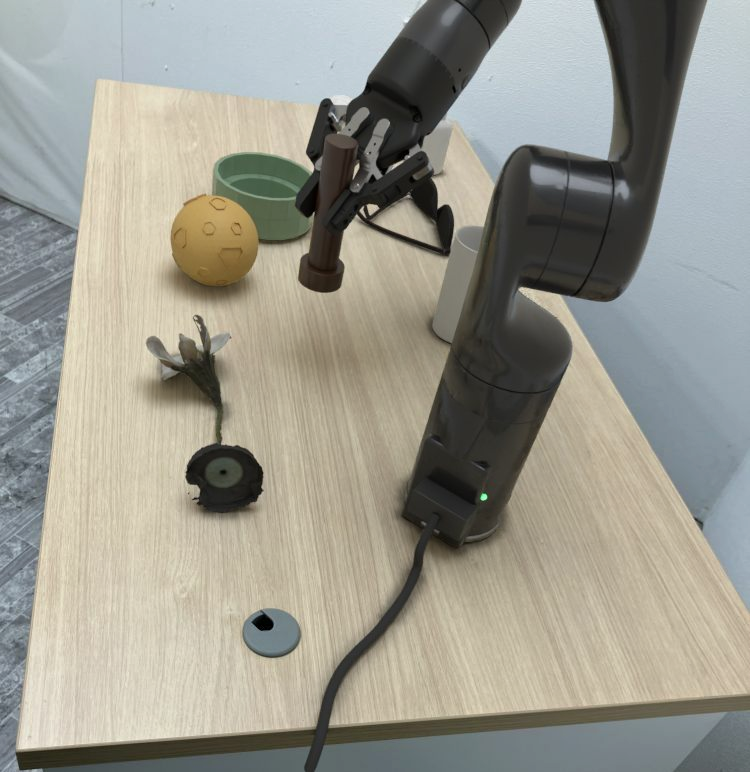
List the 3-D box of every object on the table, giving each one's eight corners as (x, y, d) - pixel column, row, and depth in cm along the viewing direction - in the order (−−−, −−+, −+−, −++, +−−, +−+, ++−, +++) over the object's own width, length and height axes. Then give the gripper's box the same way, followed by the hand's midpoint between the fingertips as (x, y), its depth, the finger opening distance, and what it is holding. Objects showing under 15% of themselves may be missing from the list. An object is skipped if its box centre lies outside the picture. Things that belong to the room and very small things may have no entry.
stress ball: (191, 249, 99) (194, 169, 92) (266, 273, 99) (275, 195, 92) (154, 286, 92) (154, 203, 85) (235, 313, 91) (241, 231, 84)
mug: (486, 351, 96) (518, 260, 87) (431, 343, 95) (458, 250, 86) (478, 305, 103) (506, 217, 94) (426, 297, 102) (451, 207, 93)
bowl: (270, 255, 102) (274, 210, 97) (190, 213, 105) (191, 168, 101) (329, 224, 110) (336, 181, 106) (254, 186, 114) (258, 143, 110)
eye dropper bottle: (406, 162, 130) (423, 84, 121) (440, 168, 131) (459, 90, 122) (409, 174, 127) (427, 94, 118) (443, 180, 128) (463, 101, 119)
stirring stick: (324, 298, 79) (348, 156, 69) (289, 279, 80) (307, 136, 70) (349, 282, 82) (376, 144, 72) (314, 264, 83) (336, 126, 73)
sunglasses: (327, 192, 117) (332, 158, 113) (419, 197, 122) (427, 165, 118) (357, 253, 106) (364, 218, 103) (457, 256, 111) (467, 222, 107)
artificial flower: (169, 526, 70) (134, 433, 63) (170, 387, 86) (143, 302, 80) (271, 505, 70) (247, 411, 64) (252, 371, 87) (232, 286, 80)
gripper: (358, 9, 73) (244, 166, 74) (478, 67, 68) (353, 235, 69) (385, 66, 80) (281, 208, 81) (496, 123, 74) (382, 275, 75)
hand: (315, 220), depth 75 cm, fingers closed on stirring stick, 3 cm apart
